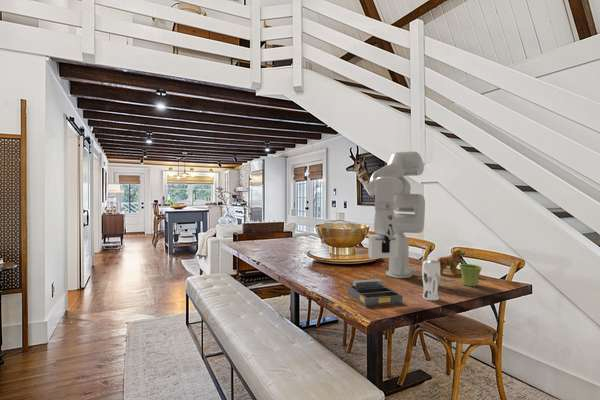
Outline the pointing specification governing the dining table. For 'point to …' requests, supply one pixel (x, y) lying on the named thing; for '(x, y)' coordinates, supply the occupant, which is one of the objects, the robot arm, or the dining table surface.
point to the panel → (376, 247)
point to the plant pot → (470, 274)
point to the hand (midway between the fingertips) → (383, 251)
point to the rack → (373, 293)
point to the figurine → (451, 261)
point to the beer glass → (430, 279)
